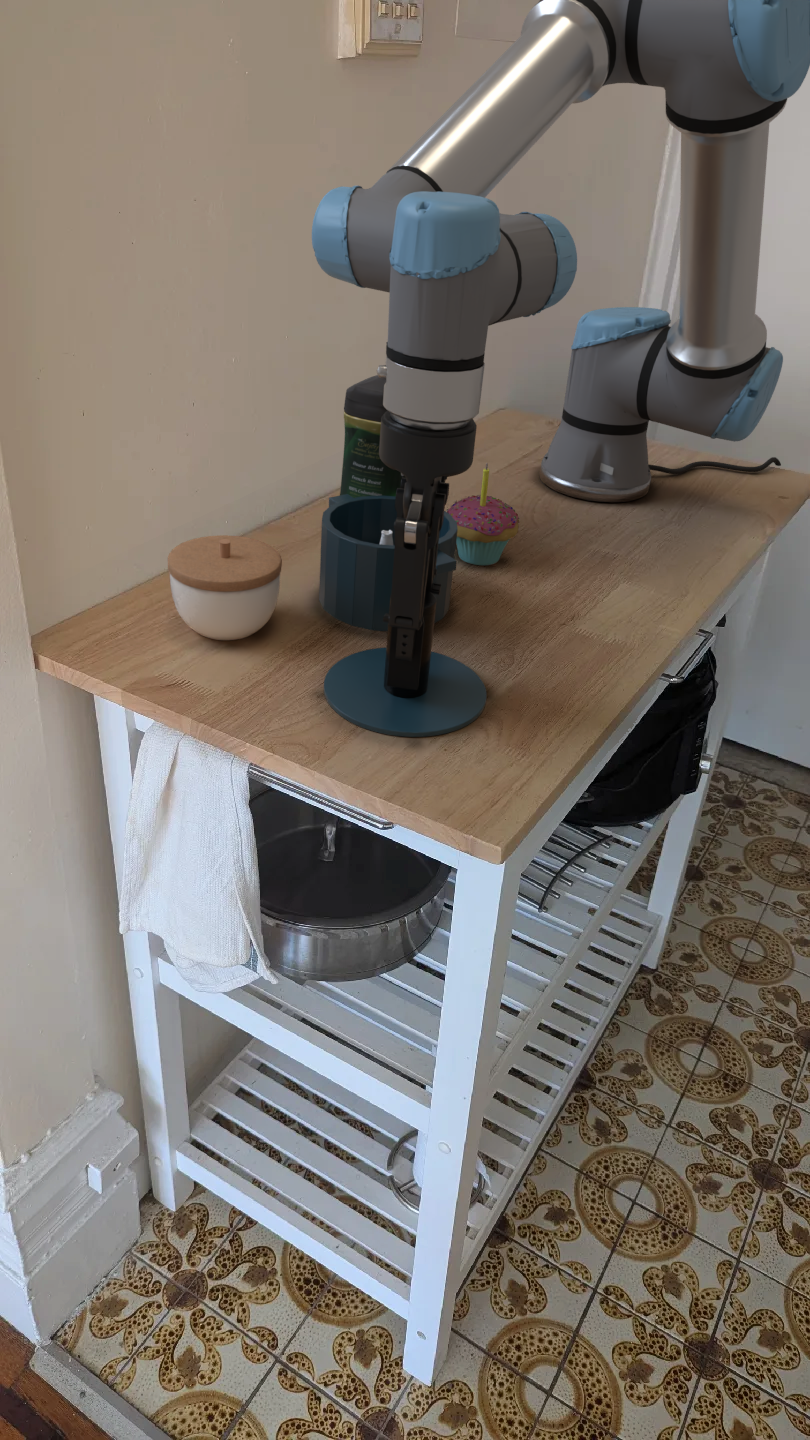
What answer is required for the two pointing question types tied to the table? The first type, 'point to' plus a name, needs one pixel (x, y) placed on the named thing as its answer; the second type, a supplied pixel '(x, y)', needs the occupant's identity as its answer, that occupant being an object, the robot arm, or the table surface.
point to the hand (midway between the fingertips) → (406, 672)
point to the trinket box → (225, 584)
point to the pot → (371, 560)
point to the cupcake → (483, 526)
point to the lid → (406, 690)
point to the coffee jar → (366, 443)
